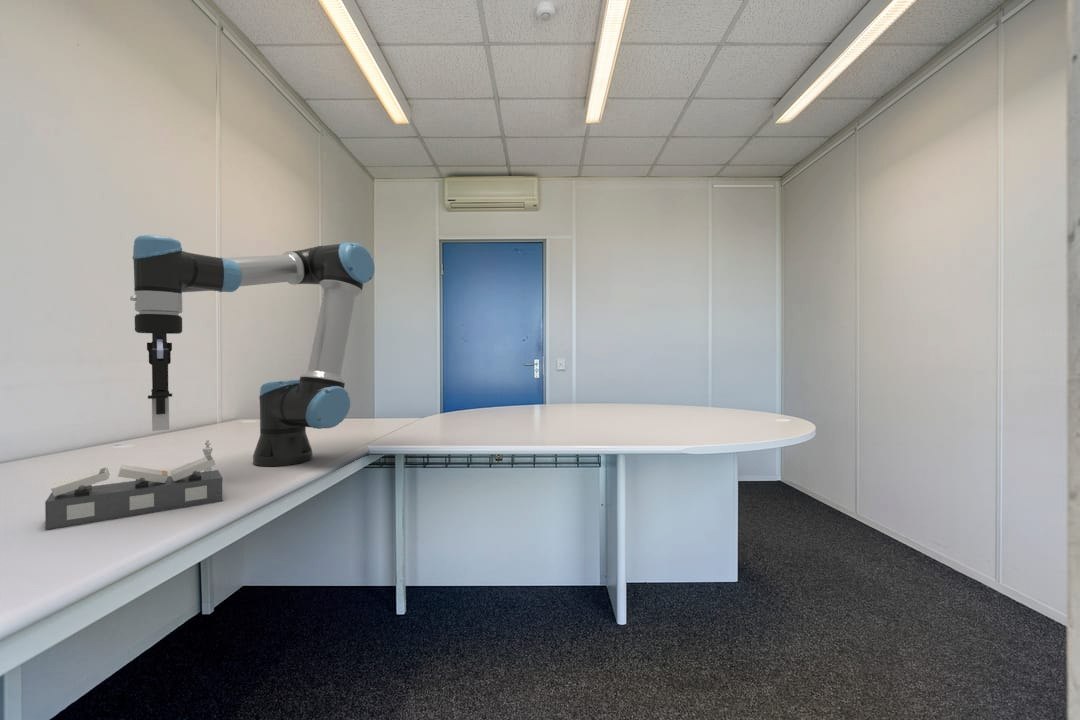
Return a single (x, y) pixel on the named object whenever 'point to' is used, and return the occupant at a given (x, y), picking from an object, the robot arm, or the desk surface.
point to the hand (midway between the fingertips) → (160, 429)
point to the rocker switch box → (131, 499)
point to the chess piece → (207, 453)
